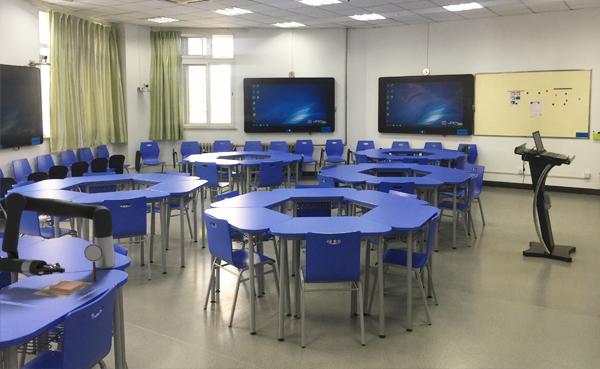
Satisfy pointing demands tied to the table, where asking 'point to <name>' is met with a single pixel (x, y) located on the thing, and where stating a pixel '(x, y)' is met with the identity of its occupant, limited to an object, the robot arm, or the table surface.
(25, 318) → the table surface
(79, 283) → the tile
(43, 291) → the board
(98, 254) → the magnifying glass
